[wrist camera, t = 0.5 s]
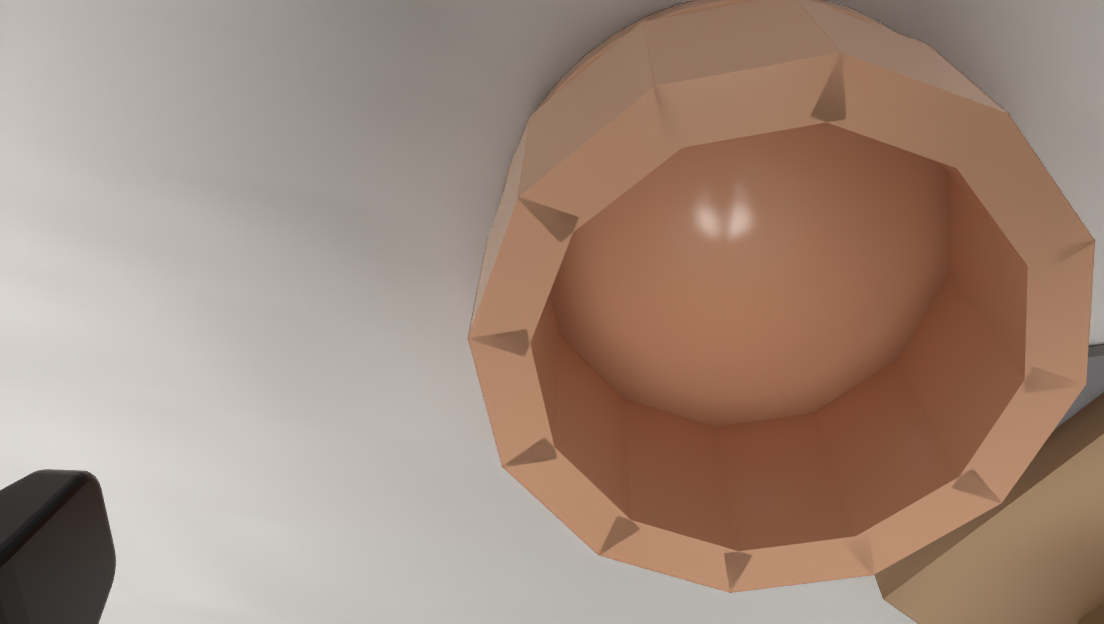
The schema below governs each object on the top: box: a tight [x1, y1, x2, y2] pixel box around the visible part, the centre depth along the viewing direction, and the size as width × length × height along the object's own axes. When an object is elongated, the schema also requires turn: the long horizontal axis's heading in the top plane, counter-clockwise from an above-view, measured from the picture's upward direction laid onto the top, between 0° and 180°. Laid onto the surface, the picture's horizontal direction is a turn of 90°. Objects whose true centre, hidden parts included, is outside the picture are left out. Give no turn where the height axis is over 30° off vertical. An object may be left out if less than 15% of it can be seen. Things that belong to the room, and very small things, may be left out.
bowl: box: [468, 0, 1095, 593], centre depth 19 cm, size 10×10×5 cm
